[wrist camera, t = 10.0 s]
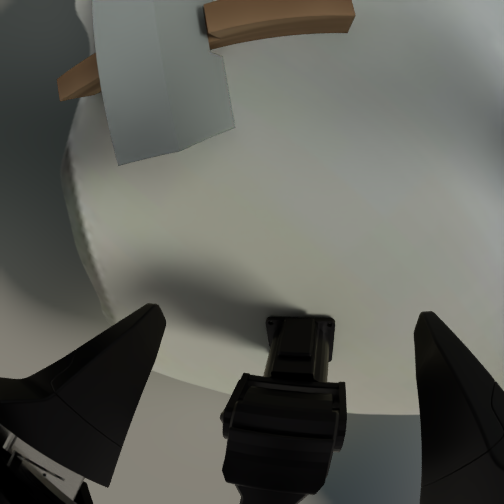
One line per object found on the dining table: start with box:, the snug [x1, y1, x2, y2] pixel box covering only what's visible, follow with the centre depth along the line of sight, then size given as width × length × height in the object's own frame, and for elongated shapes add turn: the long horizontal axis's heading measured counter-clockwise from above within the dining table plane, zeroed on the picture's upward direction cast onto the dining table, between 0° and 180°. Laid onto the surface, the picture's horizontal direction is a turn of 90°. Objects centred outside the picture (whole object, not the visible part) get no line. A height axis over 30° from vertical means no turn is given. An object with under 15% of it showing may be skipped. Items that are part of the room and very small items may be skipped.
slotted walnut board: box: [57, 0, 355, 101], centre depth 12 cm, size 2×20×4 cm, turn 99°
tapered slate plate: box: [92, 0, 235, 166], centre depth 10 cm, size 14×4×8 cm, turn 9°
